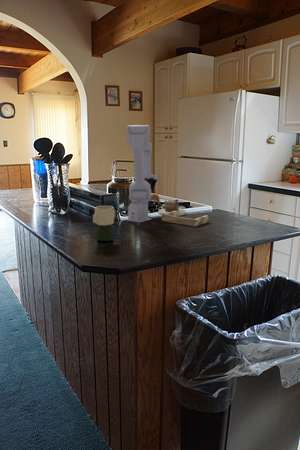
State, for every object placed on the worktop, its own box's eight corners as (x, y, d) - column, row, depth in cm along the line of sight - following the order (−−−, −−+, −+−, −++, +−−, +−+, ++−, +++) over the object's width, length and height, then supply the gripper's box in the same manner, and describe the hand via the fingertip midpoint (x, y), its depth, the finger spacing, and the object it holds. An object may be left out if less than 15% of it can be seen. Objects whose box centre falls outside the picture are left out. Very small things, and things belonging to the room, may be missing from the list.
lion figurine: (141, 208, 208) (141, 191, 206) (136, 206, 212) (136, 190, 210) (163, 205, 216) (163, 189, 214) (158, 204, 220) (158, 188, 218)
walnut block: (173, 212, 190) (173, 202, 189) (165, 211, 193) (165, 201, 192) (178, 210, 194) (178, 201, 193) (170, 209, 197) (170, 200, 196)
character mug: (108, 236, 151) (108, 204, 148) (121, 239, 146) (121, 206, 143) (87, 241, 143) (86, 208, 140) (100, 245, 138) (99, 210, 135)
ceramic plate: (175, 217, 185) (175, 215, 184) (153, 213, 193) (153, 211, 193) (190, 212, 195) (190, 210, 195) (168, 209, 204) (168, 207, 203)
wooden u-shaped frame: (194, 226, 167) (194, 219, 166) (161, 220, 178) (161, 214, 177) (208, 221, 176) (208, 215, 175) (175, 216, 187) (175, 210, 186)
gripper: (161, 166, 190) (161, 192, 194) (139, 164, 199) (139, 190, 202) (152, 167, 185) (152, 194, 188) (130, 165, 194) (130, 191, 197)
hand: (145, 192), depth 195 cm, fingers open, 7 cm apart
